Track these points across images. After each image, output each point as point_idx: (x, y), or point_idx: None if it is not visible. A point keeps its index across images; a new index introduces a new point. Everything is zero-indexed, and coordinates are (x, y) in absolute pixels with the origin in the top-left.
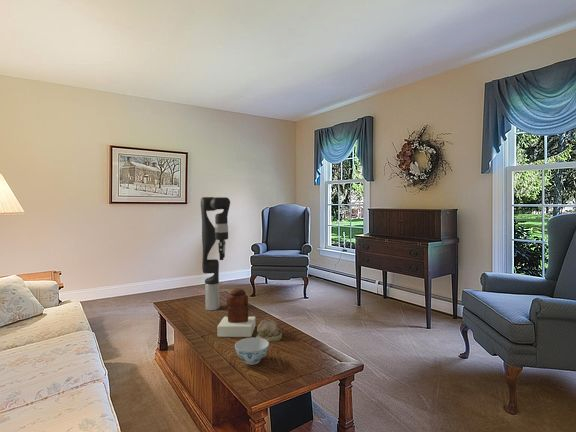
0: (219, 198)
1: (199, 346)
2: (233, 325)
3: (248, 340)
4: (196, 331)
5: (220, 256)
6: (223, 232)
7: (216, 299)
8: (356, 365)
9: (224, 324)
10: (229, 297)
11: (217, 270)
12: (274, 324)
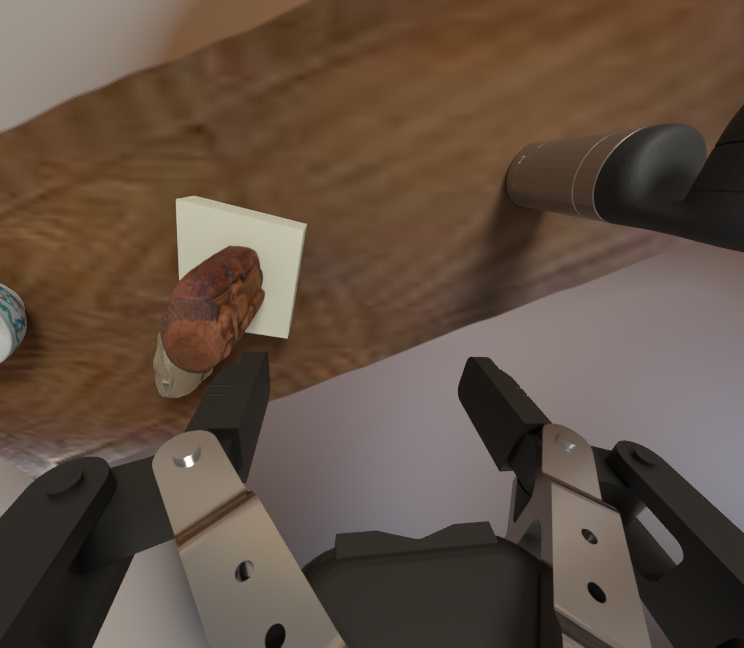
0: None
1: (83, 118)
2: (189, 264)
3: (2, 312)
4: (256, 99)
5: (205, 402)
6: None
7: (534, 198)
8: None
9: (202, 230)
10: (173, 289)
11: (677, 232)
12: (160, 391)
